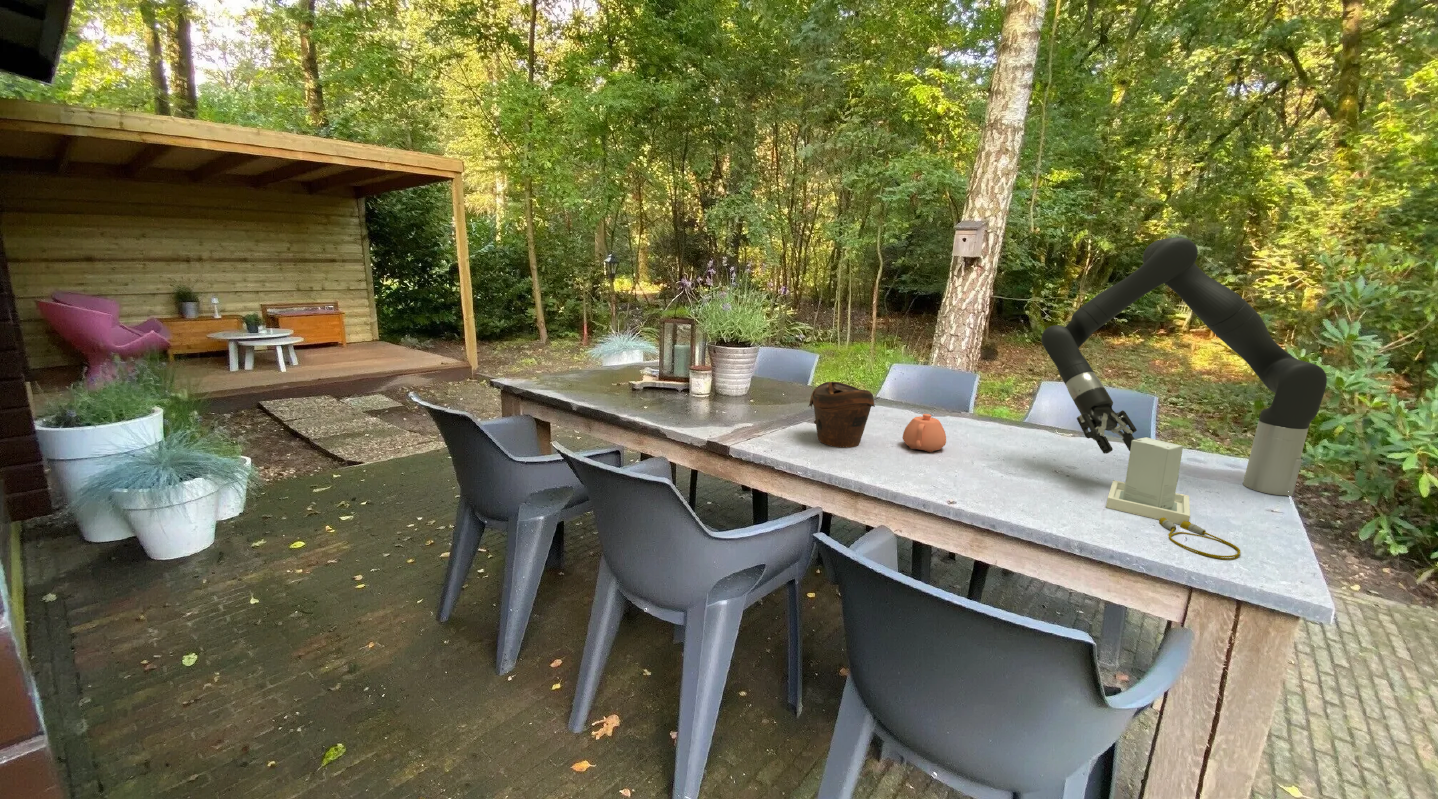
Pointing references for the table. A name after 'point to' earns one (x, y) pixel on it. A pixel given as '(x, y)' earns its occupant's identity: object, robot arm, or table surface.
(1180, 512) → the shallow cream tray
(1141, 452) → the skincare box
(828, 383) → the case
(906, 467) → the table surface
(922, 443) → the sugar bowl
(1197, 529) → the extension cord
